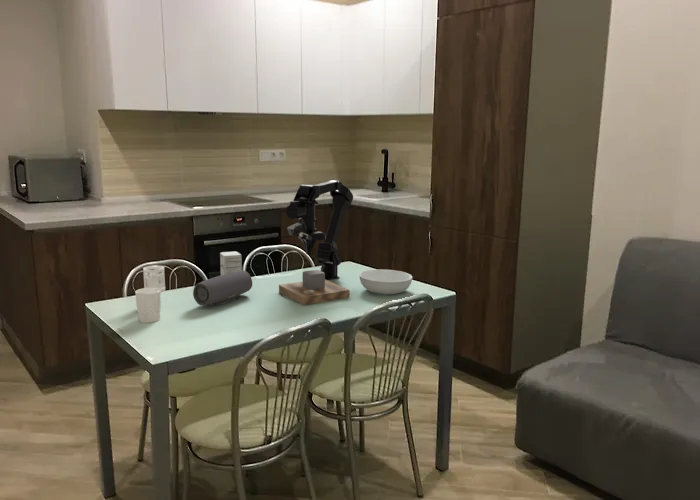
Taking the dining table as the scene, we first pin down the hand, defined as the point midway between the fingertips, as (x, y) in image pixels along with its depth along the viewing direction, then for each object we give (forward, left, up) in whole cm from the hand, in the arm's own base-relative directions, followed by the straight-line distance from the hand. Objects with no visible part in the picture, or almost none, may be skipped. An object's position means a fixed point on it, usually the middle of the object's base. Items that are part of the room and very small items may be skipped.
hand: (307, 254), depth 239 cm
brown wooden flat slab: (+5, +14, -13) cm, 20 cm away
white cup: (+67, +13, -13) cm, 70 cm away
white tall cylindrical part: (+61, -2, -13) cm, 62 cm away
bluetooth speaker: (+38, +5, -13) cm, 41 cm away
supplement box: (+26, -18, -13) cm, 34 cm away
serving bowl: (-22, +24, -13) cm, 35 cm away
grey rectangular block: (+5, +14, -12) cm, 19 cm away
